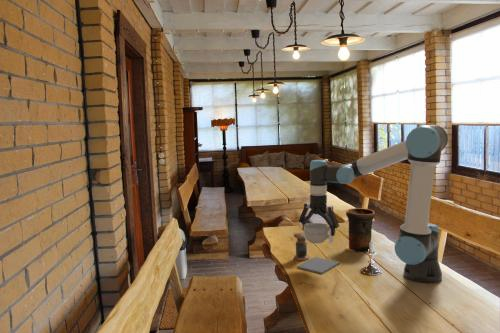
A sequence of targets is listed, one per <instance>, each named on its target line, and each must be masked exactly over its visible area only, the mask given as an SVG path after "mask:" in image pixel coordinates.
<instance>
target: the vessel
mask: <svg viewBox="0 0 500 333" xmlns="http://www.w3.org/2000/svg"><path fill="white" fill-rule="evenodd" d="M345 215H346V217H347V221H348V245H347V246H346V250H348V251H352V252H356V253H369V252H368V249H369V243H370V242H371V243H372V227H373V220H374V218H375V216H376V213H375V211H374V210H372V209H368V208H361V207H356V208H349V209H347V210H346V212H345Z"/></svg>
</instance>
